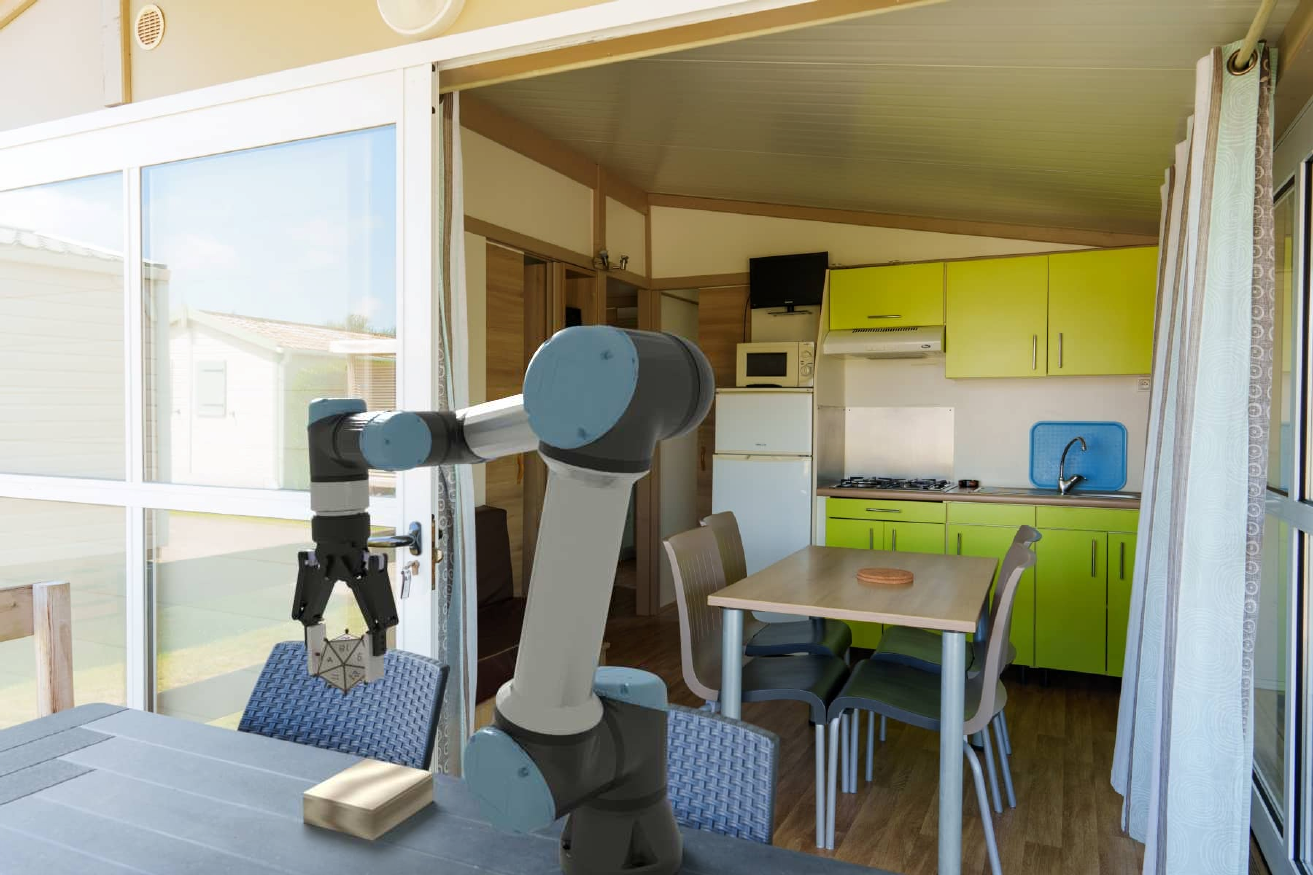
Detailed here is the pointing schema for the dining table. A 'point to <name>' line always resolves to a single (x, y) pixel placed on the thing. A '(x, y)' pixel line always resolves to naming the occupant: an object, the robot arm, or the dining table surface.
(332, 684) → the game die
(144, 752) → the dining table surface
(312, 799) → the birch base
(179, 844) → the dining table surface
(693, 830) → the dining table surface
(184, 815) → the dining table surface
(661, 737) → the robot arm
